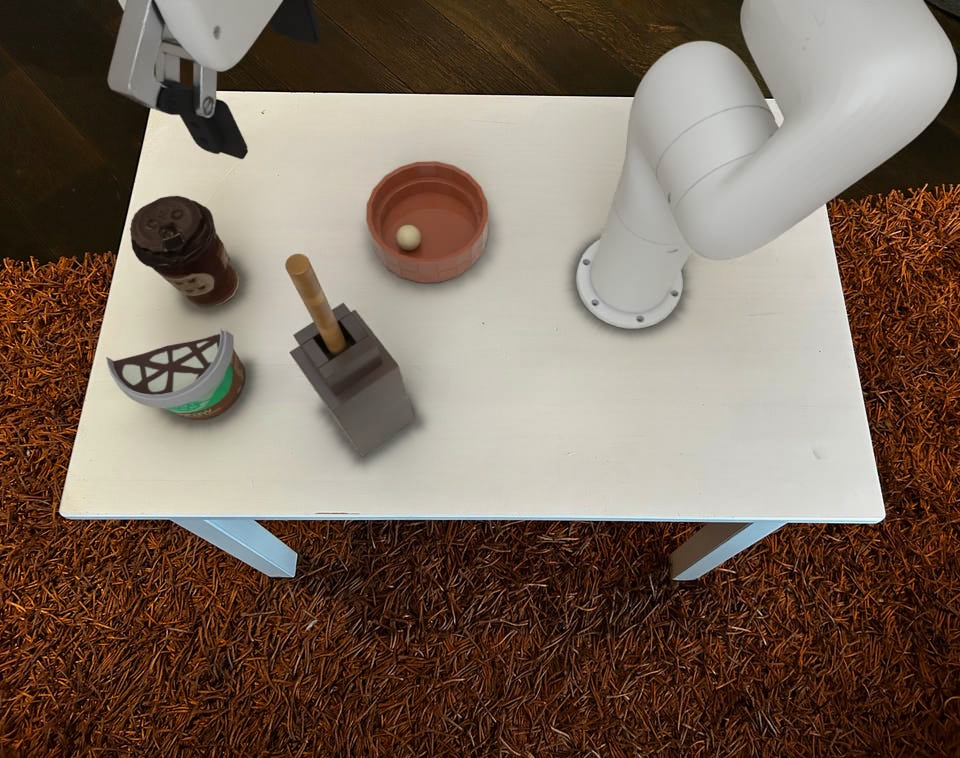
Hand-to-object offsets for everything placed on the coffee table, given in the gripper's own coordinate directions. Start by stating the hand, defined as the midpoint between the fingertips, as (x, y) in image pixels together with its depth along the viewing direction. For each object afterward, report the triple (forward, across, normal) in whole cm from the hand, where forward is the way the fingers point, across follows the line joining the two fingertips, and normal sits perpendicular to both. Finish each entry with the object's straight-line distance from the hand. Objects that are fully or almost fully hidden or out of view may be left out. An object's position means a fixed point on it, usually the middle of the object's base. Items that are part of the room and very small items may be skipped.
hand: (262, 90), depth 40 cm
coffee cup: (+38, 0, +20) cm, 43 cm away
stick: (+22, -8, -5) cm, 24 cm away
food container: (+38, -13, +13) cm, 42 cm away
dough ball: (+36, +14, 0) cm, 38 cm away
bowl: (+38, +16, -2) cm, 41 cm away
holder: (+38, -8, -5) cm, 39 cm away
